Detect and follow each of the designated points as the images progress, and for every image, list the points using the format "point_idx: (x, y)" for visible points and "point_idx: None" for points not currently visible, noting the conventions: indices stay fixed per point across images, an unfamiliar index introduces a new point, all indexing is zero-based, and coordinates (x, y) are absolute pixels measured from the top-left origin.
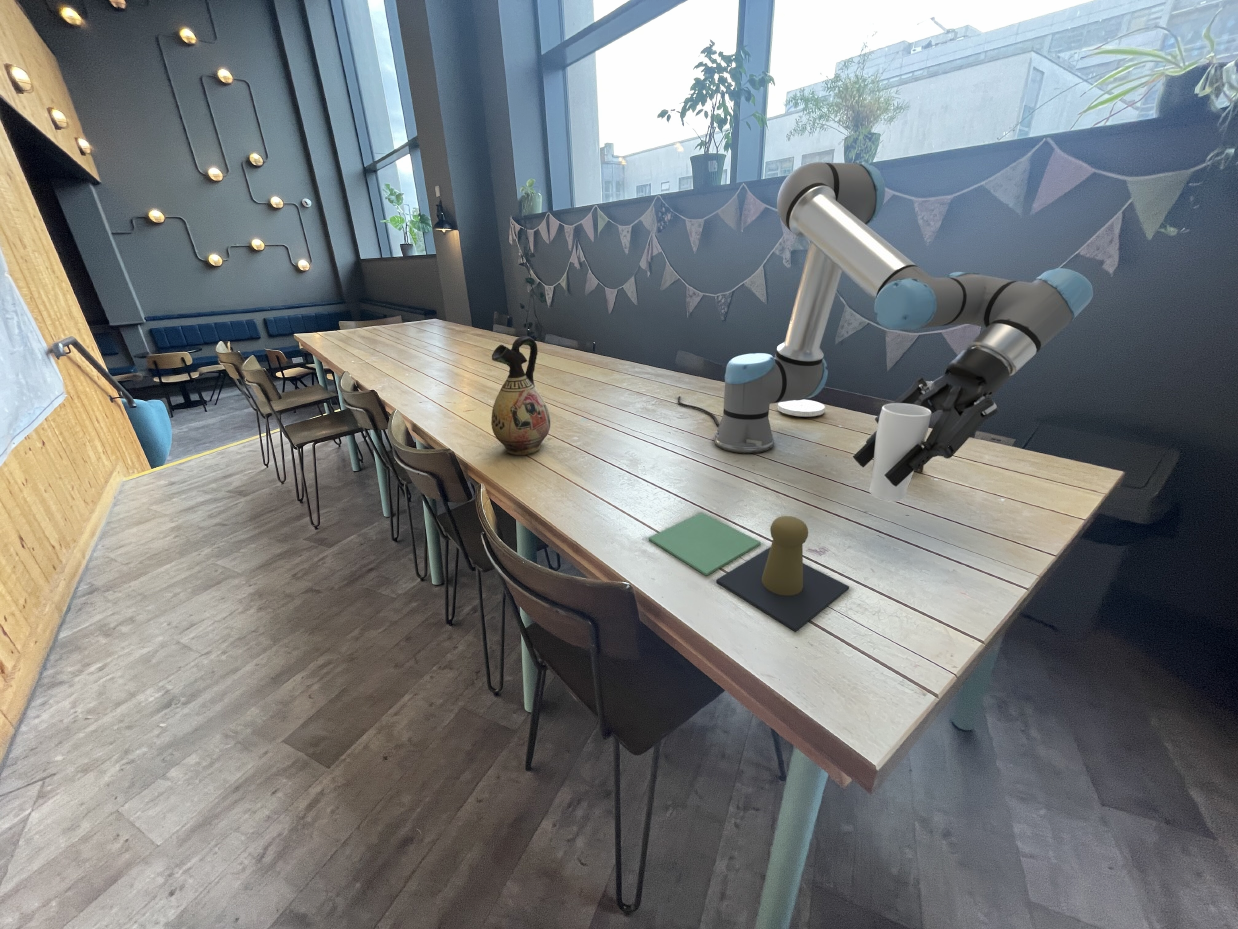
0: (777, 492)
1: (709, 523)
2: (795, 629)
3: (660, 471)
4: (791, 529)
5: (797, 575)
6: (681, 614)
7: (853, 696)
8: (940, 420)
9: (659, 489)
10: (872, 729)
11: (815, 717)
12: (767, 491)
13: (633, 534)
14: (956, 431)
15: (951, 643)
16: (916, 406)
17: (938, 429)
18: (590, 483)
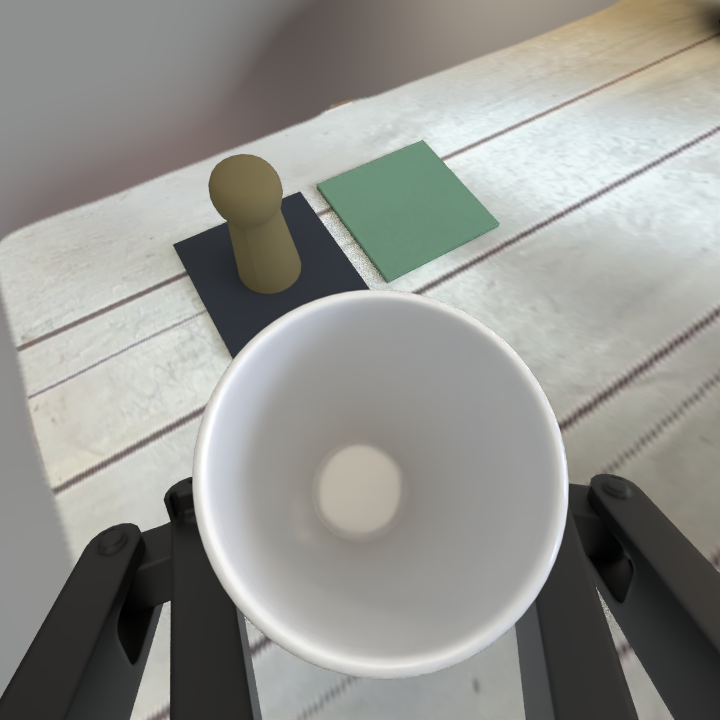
0: (600, 397)
1: (458, 224)
2: (173, 244)
3: (684, 204)
4: (216, 166)
5: (234, 254)
6: (249, 146)
7: (60, 261)
8: (222, 697)
9: (598, 187)
10: (17, 257)
11: (57, 215)
12: (604, 376)
13: (440, 130)
14: (31, 674)
15: (71, 439)
16: (476, 629)
17: (187, 615)
18: (614, 100)
